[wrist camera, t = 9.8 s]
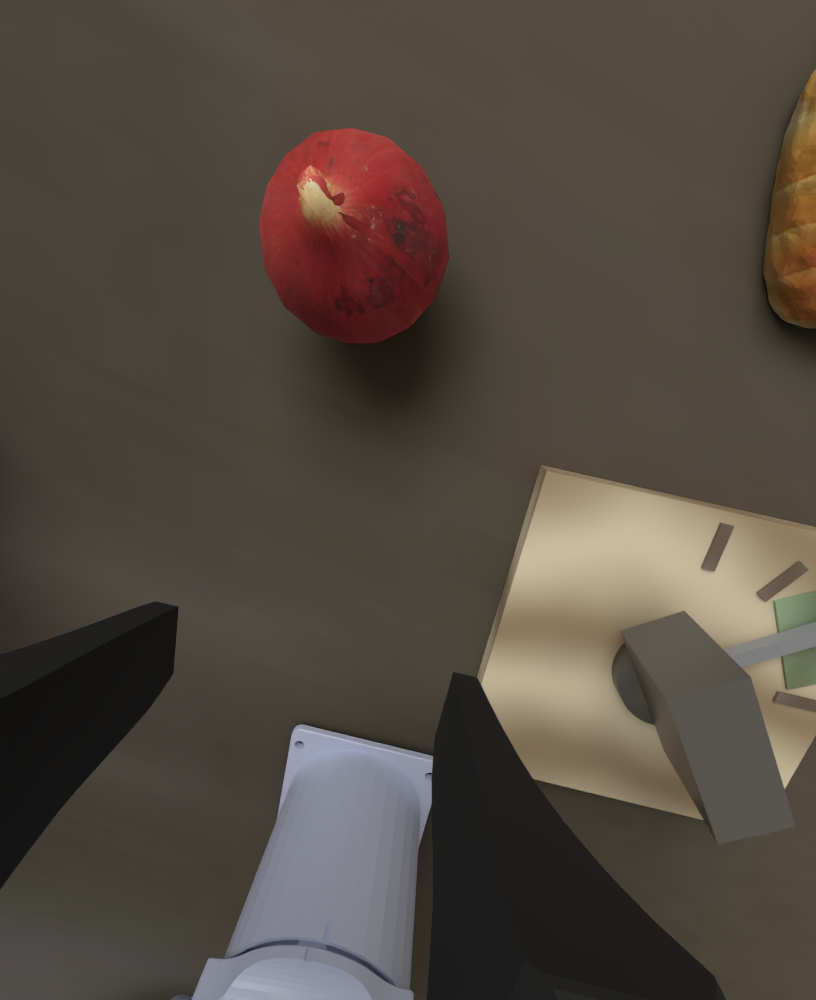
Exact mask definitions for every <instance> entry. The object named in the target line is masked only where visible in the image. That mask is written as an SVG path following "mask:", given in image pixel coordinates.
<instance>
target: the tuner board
mask: <svg viewBox="0 0 816 1000" xmlns="http://www.w3.org/2000/svg"><path fill="white" fill-rule="evenodd" d="M681 611H685V612H686V613H687V614H688V615H689V616H690V617H691V618H692V619H693V620H694V621H695V622H696V623H697V624H698V625H699V626H700V627H701V628H702V629H703V630H704V631H705V632H706V633H707V634H708V635H709V636H710V637H711V638H712V639H713V640H714V641H715V642H716V643H717V644H718V645H719V646H720V647H721V648H722V649H726V648H729V647H733V646H736V645H739V644H743V643H746V642H749V641H753V640H756V639H759V638H763V637H766V636H769V635H773V634H776V633H779V632H783V631H786V630H790V629H793V628H796V627H800V626H803V625H806V624H810V623H813V622H816V527H813V526H809V525H805V524H800V523H796V522H791V521H787V520H782V519H778V518H774V517H769V516H765V515H760V514H756V513H751V512H747V511H742V510H738V509H734V508H729V507H725V506H720V505H716V504H711V503H707V502H703V501H698V500H694V499H689V498H685V497H680V496H676V495H672V494H667V493H663V492H658V491H654V490H649V489H645V488H640V487H636V486H632V485H627V484H623V483H618V482H614V481H609V480H605V479H601V478H596V477H592V476H587V475H583V474H578V473H574V472H570V471H565V470H561V469H556V468H552V467H547V466H543V465H541V466H540V470H539V473H538V476H537V480H536V483H535V486H534V490H533V493H532V496H531V500H530V503H529V506H528V510H527V513H526V516H525V520H524V523H523V526H522V530H521V533H520V536H519V539H518V543H517V546H516V549H515V553H514V556H513V559H512V563H511V566H510V569H509V573H508V576H507V579H506V583H505V586H504V589H503V593H502V596H501V599H500V603H499V606H498V609H497V613H496V616H495V619H494V622H493V626H492V629H491V632H490V636H489V639H488V642H487V646H486V649H485V652H484V656H483V659H482V662H481V666H480V669H479V672H478V676H477V678H478V680H479V682H480V683H481V685H482V688H483V690H484V692H485V694H486V696H487V698H488V700H489V702H490V704H491V706H492V708H493V710H494V712H495V714H496V716H497V718H498V720H499V722H500V724H501V725H502V727H503V729H504V731H505V733H506V735H507V736H508V738H509V740H510V742H511V743H512V745H513V747H514V749H515V751H516V752H517V754H518V756H519V757H520V759H521V761H522V762H523V764H524V765H525V767H526V769H527V770H528V772H529V773H530V775H531V776H532V778H533V779H535V780H540V781H544V782H548V783H552V784H556V785H560V786H564V787H569V788H573V789H577V790H581V791H585V792H589V793H593V794H597V795H602V796H606V797H610V798H614V799H618V800H622V801H626V802H631V803H635V804H639V805H643V806H647V807H651V808H655V809H660V810H664V811H668V812H672V813H676V814H680V815H684V816H688V817H693V818H697V819H701V820H704V819H703V818H702V816H701V814H700V813H699V811H698V809H697V807H696V806H695V804H694V802H693V800H692V799H691V797H690V795H689V793H688V792H687V790H686V788H685V786H684V785H683V783H682V781H681V779H680V778H679V776H678V774H677V773H676V771H675V769H674V767H673V766H672V764H671V762H670V760H669V759H668V757H667V755H666V753H665V752H664V749H663V747H662V744H661V741H660V739H659V736H658V733H657V730H656V728H655V725H652V724H649V723H646V722H644V721H642V720H640V719H639V718H637V717H636V716H634V715H633V714H632V713H631V712H630V711H629V710H628V709H627V707H626V706H625V704H624V703H623V701H622V699H621V697H620V695H619V693H618V691H617V689H616V687H615V685H614V683H613V679H612V664H613V660H614V657H615V655H616V653H617V651H618V650H619V648H620V647H621V646H622V645H623V644H624V640H623V637H622V635H621V632H620V631H621V630H625V629H628V628H631V627H634V626H637V625H640V624H644V623H647V622H650V621H653V620H656V619H659V618H662V617H666V616H669V615H672V614H675V613H678V612H681ZM742 669H743V670H744V671H745V672H746V673H747V674H748V675H749V676H750V677H751V679H752V683H753V686H754V689H755V693H756V696H757V699H758V703H759V706H760V709H761V713H762V716H763V719H764V723H765V726H766V729H767V733H768V736H769V739H770V743H771V746H772V749H773V753H774V756H775V759H776V763H777V766H778V769H779V773H780V776H781V779H782V783H783V786H784V789H785V788H786V786H787V784H788V782H789V781H790V779H791V777H792V775H793V774H794V772H795V770H796V768H797V767H798V765H799V763H800V761H801V760H802V758H803V756H804V754H805V753H806V751H807V749H808V748H809V746H810V744H811V742H812V741H813V739H814V737H815V735H816V646H815V647H812V648H808V649H805V650H802V651H798V652H795V653H791V654H788V655H784V656H781V657H777V658H774V659H770V660H767V661H763V662H760V663H757V664H753V665H750V666H746V667H743V668H742Z"/></svg>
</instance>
